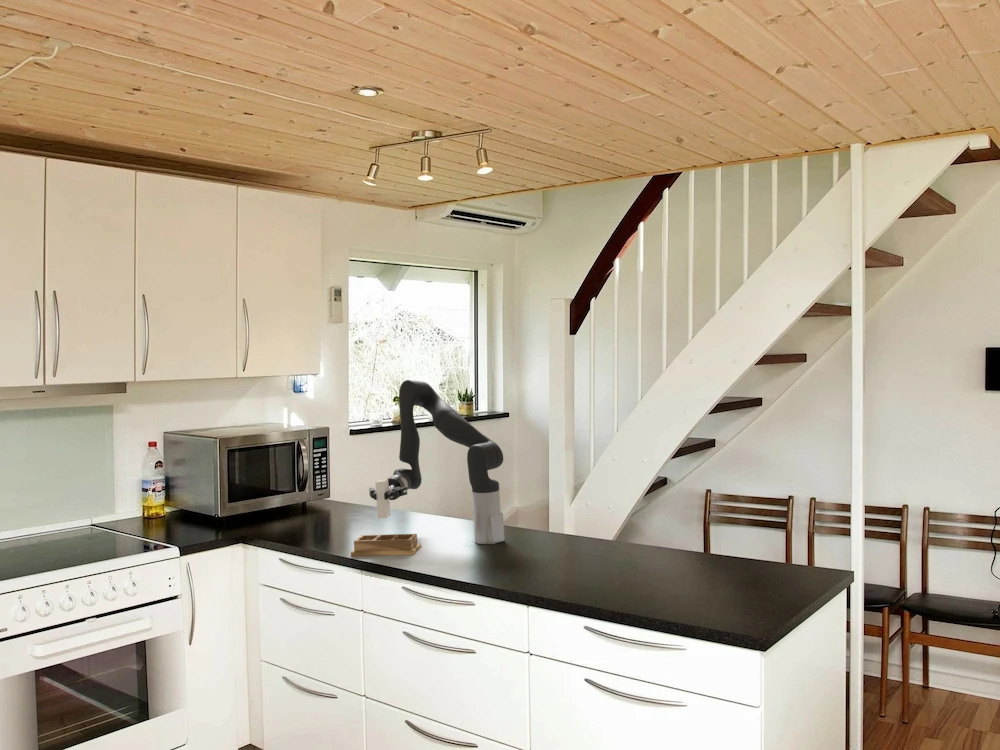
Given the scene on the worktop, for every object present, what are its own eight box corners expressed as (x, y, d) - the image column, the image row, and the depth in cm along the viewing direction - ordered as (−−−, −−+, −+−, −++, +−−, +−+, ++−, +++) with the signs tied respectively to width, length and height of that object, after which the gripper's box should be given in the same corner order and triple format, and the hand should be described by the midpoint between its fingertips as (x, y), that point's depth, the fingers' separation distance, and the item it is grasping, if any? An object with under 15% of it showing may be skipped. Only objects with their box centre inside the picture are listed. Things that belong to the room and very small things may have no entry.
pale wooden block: (381, 515, 286) (379, 479, 285) (390, 515, 285) (388, 479, 285) (377, 518, 281) (375, 481, 281) (386, 518, 281) (384, 481, 280)
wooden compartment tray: (360, 548, 290) (359, 534, 290) (421, 547, 287) (420, 533, 287) (350, 556, 280) (350, 541, 280) (413, 554, 277) (412, 540, 277)
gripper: (374, 476, 298) (358, 485, 281) (413, 475, 296) (400, 484, 279) (375, 498, 298) (360, 508, 281) (415, 497, 296) (401, 507, 279)
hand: (380, 496), depth 280 cm, fingers closed on pale wooden block, 3 cm apart
